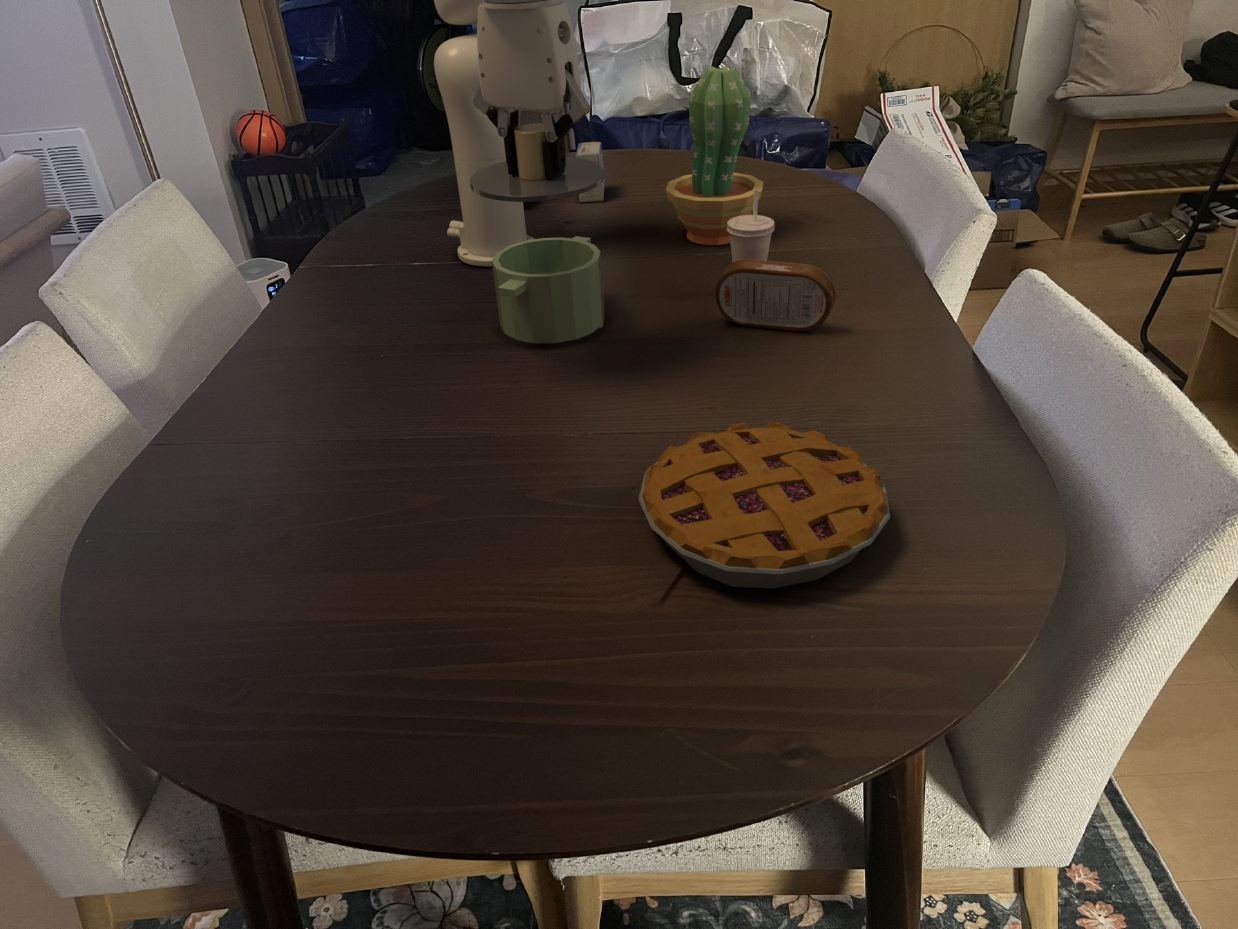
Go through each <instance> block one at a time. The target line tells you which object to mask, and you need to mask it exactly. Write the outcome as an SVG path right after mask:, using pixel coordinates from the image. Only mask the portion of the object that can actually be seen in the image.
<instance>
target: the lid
mask: <svg viewBox="0 0 1238 929" xmlns="http://www.w3.org/2000/svg"><path fill="white" fill-rule="evenodd" d="M514 135H515V144H516V153H517V163H518V172H519V173H518V174H516V175H509V173H508V164H507V162H506V161H504V162H500V163H496V164H493V165H490V166H487V167H485V168H483V169H481V170H479V171H477V172H476V173H474V174H473V175H472V176H471V178H470V187H471V189H472V191H473V192H475V193H476V194H478V195H480V196H482V197H485V198H489V199H494V200H500V201H509V202H523V203H532V202H533V203H534V202H535V203H536V202H547V201H556V200H560V199H567V198H570V197H574V196H579V194H581V193H584V192H587V191H589V190H592V189H593V188H595V187H597V186H598V185H600V184H601V183H602V182H603V180H604V181H605V170H604V167H603V168H602V167H601V166H600V165H599V164H597V163H595V162H592V161H589V160H585V159H581V158H576V157H575V156H566V167H565V172H564V173H563V174H561V175H560V176H558V177H556V178H554V179H553V180H549V179H547V178H546V177H545V170H544V159H543V148H542V144H543V142H545V141H547V138H546V134H545V130H544V126H543V123H537V122H536V123H527V124H526V123H525V124H521V126H518V127H516V128H515V129H514Z"/></svg>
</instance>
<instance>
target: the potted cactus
mask: <svg viewBox="0 0 1238 929" xmlns="http://www.w3.org/2000/svg"><path fill="white" fill-rule="evenodd" d="M751 94H752V93H751V91H750V90H749V88H748V86H746V84H745V80H744V79H743V78H741V76H740V75H739V73H738V72H737V70H736V68H735V67H732V68H729V69H728V66H727V65H723V66H722V67H720V68H717V67H714V66H709V68H706V70H705V71H704V72H703V73H702V75H701V77H700V78H699V79H698V81H697V83H696V84H695V85H694V87H693V89H692V91H691V94H690V96H689V97H688V114H689V116H688V117H689V118H688V119H689V129H690V133H691V137H692V141H693V144H694V147H693V158H692V168H691V169H692V172H691V173H690V174H685V175H682V176H679V177H677V178H675V179H672V180H670V181H668V183H667V185H666V188H665V194H666V197H667V200H669V201H670V202H672V205H673V208H674V210H675V213H676V216H677V218H678V219H679V221H680V223H681V224H682V225H683V226H684V228H685V229H686V231H687V232H686V238H687V239H688V240H689V241H690V242H692V243H695V244H699V245H703V246H706V245H707V246H721V245H726V244H730V234H729V232H728V231H727V222H728V221H729V220H730V219H732V218H734V217H737V216H742V215H752V214H753V202H754V190H755V189H758V201H760V200H761V196H762V193H763V189H764V188H763V187H764V181H762V180H761V179H759V178H757V177H755V176H754V175H750V174H745V173H738V172H735V168H736V164H737V160H738V156H739V152H740V147H741V144H742V142H743V140H744V138H745V135H746V133H747V130H748V128H749V127H750V126H749V125H750V114H751V113H750V112H751V103H752V96H751Z"/></svg>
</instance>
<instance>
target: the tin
mask: <svg viewBox="0 0 1238 929" xmlns="http://www.w3.org/2000/svg"><path fill="white" fill-rule="evenodd" d="M714 298H715V303H716V306H717V308H718V310H719V312H720V313H721V314H722V315H723V316H724V317H725V318H726V319H727V320H729V321H731V322H732V323H735V324H737V325H740V326H745V327H753V328H754V327H757V328H764V329H775V330H783V331H793V332H809V331H812V330H814V329H816V328H818V327H819V326H821V325H822V324H824V323H825V321H826V320H827V319H828V317H829V316H830V314H831V311H832V310H833V308H834V306H835V302H836V289H835V285H834V283H833V281H832V279H831V278H830V276H829V275H828V274H827V273H826V272H824V271H823V270H822V269H820V268H818V267H817V266H814V265H811V264H807V263H796V262H785V261H773V260H767V261H764V260H754V259H742V260H738V261H735V262H731V263H730V264H728V265H727V266H726V267H725V268H723V269H722V271H721V273H720V275H719V277H718V279H717V283H716V284H715V288H714Z"/></svg>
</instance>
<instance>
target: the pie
mask: <svg viewBox="0 0 1238 929" xmlns="http://www.w3.org/2000/svg"><path fill="white" fill-rule="evenodd" d="M642 478H643V479H642V483H641V488H640V492H639V495H638V502H639V504H640V506H641V508H642V511H643V513H644V515H645V518H646V520H647V522H648V524H649V526H650V528H651V530H653V531H654V532H655V533H656V534H657V535H659V536H660V537H661V538H662V539H663V541H664V542H665V544H666V545H667V547H669V548H670V549H671V550H672V551H673V552H674V553H676V554H677V555H678V556H679V557H680V558H682V560H684V561H685V563H686V564H687V565H688V566H689V567H691V568H692V569H693V570H694V571H695V572H696V573H698V574H700V575H702V576H705V577H707V578H710V579H713V580H714V581H717V582H718V583H722V584H724V585H726V586H729V587H732V588H754V589H777V588H783V587H787V586H793V585H797V584H803V583H808V582H813V581H818V580H819V579H821V578H823V577H825V576H827V575H829V574H831V573H833V572H834V571H837V570H838V569H840V568H842V567H844V566H846V565H847V564H850V563H851V562H852V561H853V560H854V559H855V557H856V556H857V555H858V554H859V553H860V551H861V550H862V549H864V548H866V547H868V546H870V545H871V544H873V542H874V541H875V540H876V537H878V536H879V534H880V532H881V531H882V529H883V528H884V527H885V526H886V524H887V523H888V521H889V520H890V518H891V512H890V504H889V497H888V492H887V488H886V486H885V485H884V484H883V483H882V479H881V476H880V474H879V473H878V471H877V469H876V468H875V466H868V465H867V464H866V463H865V462H864V461H863V458H862V456H861V454H860V453H859V452H858V451H856V450H855V449H853V448H852V447H851V446H849V445H846V446H838V445H836V444H834V443H833V442H831V441H830V439H829V436H828V435H827V434H825V433H822V432H819V431H817V430H814V429H812V430H809V431H805V432H804V431H797V430H793V429H792V428H790V427H789V426H788V425H787V424H783V423H779V422H775V421H770V422H769V423H768V424H767V425H766V426H765V427H751V426H750V425H748V424H746V422H739V423H733V424H730V425H729V426H728V428H727V430H725V431H720V432H708V431H700V432H697V433H692V434H691V435H690V437H689V438H688V440H687V442H686V443H685V444H682V445H680V446H675V445H669V446H668V447H667V448H666V449H665V450H664V452H663V453H661V455H660V457H659V459H658V460H657V461H656V462H655V463H653V464H652V465H649V466H648V467H647V469H646V471H645V472H644V475H643V477H642Z"/></svg>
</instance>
